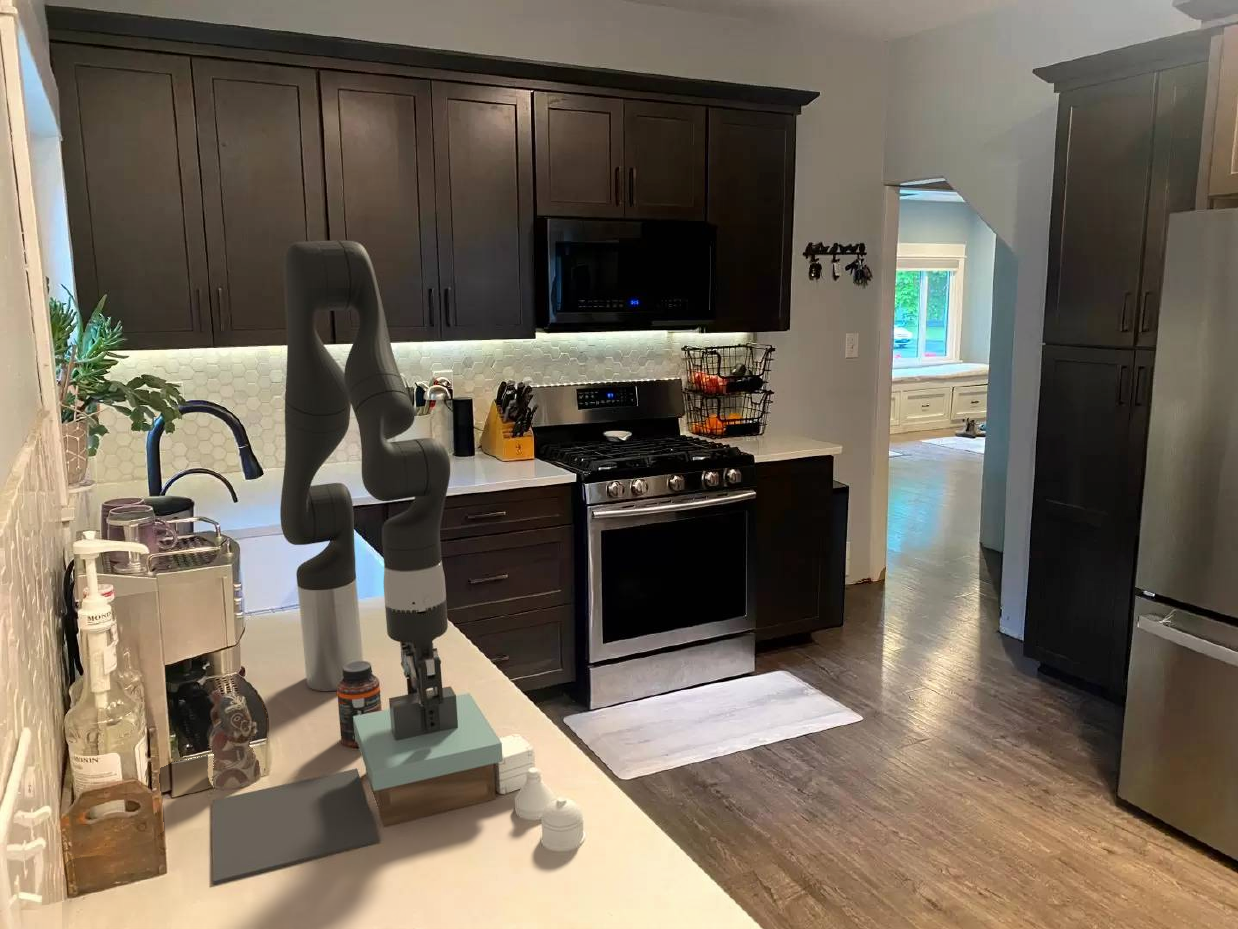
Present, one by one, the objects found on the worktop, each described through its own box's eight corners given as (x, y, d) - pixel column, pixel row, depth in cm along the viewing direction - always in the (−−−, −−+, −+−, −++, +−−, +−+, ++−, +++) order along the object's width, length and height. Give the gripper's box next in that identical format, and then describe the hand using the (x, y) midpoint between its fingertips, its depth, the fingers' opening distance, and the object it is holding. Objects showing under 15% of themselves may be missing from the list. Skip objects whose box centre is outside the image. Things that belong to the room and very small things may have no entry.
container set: (484, 781, 123) (482, 743, 121) (520, 770, 125) (518, 732, 124) (553, 858, 106) (551, 815, 105) (593, 843, 108) (591, 801, 107)
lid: (354, 733, 124) (350, 684, 123) (470, 709, 130) (467, 663, 129) (373, 791, 110) (368, 736, 109) (502, 761, 116) (499, 709, 115)
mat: (212, 803, 118) (212, 800, 118) (357, 771, 125) (357, 768, 125) (213, 884, 102) (213, 881, 102) (379, 842, 109) (379, 839, 109)
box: (366, 772, 125) (361, 724, 124) (467, 750, 130) (464, 703, 129) (383, 827, 112) (379, 774, 111) (495, 799, 118) (492, 748, 116)
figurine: (230, 795, 120) (220, 709, 118) (196, 781, 124) (186, 698, 121) (276, 770, 126) (267, 688, 124) (242, 757, 130) (233, 677, 127)
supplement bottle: (372, 750, 131) (366, 675, 129) (333, 747, 132) (326, 673, 130) (390, 730, 137) (385, 658, 134) (353, 728, 138) (347, 656, 136)
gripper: (375, 585, 121) (385, 701, 124) (395, 620, 108) (405, 748, 112) (432, 577, 124) (440, 690, 127) (458, 610, 111) (466, 735, 114)
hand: (424, 717), depth 119 cm, fingers open, 8 cm apart
